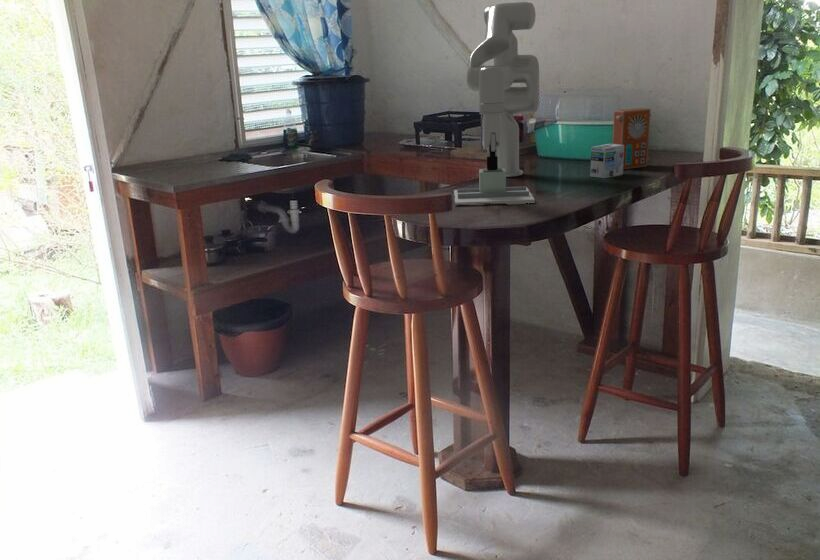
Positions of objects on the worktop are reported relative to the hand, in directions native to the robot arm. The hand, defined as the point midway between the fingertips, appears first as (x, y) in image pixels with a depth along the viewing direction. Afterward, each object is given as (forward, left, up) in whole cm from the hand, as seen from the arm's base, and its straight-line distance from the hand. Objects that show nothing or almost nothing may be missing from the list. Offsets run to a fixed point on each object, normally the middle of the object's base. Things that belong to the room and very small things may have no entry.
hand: (492, 169), depth 216 cm
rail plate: (-1, 0, -9) cm, 9 cm away
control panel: (-50, +55, -10) cm, 75 cm away
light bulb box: (-34, +43, -10) cm, 55 cm away
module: (-1, 0, -7) cm, 7 cm away
